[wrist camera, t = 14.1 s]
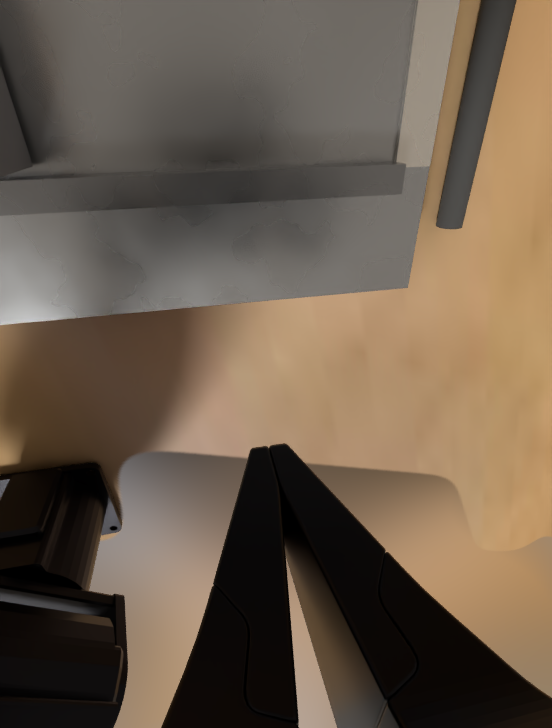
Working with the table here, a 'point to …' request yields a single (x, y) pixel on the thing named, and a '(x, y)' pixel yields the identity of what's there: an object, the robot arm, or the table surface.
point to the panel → (215, 150)
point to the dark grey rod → (474, 109)
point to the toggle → (11, 136)
